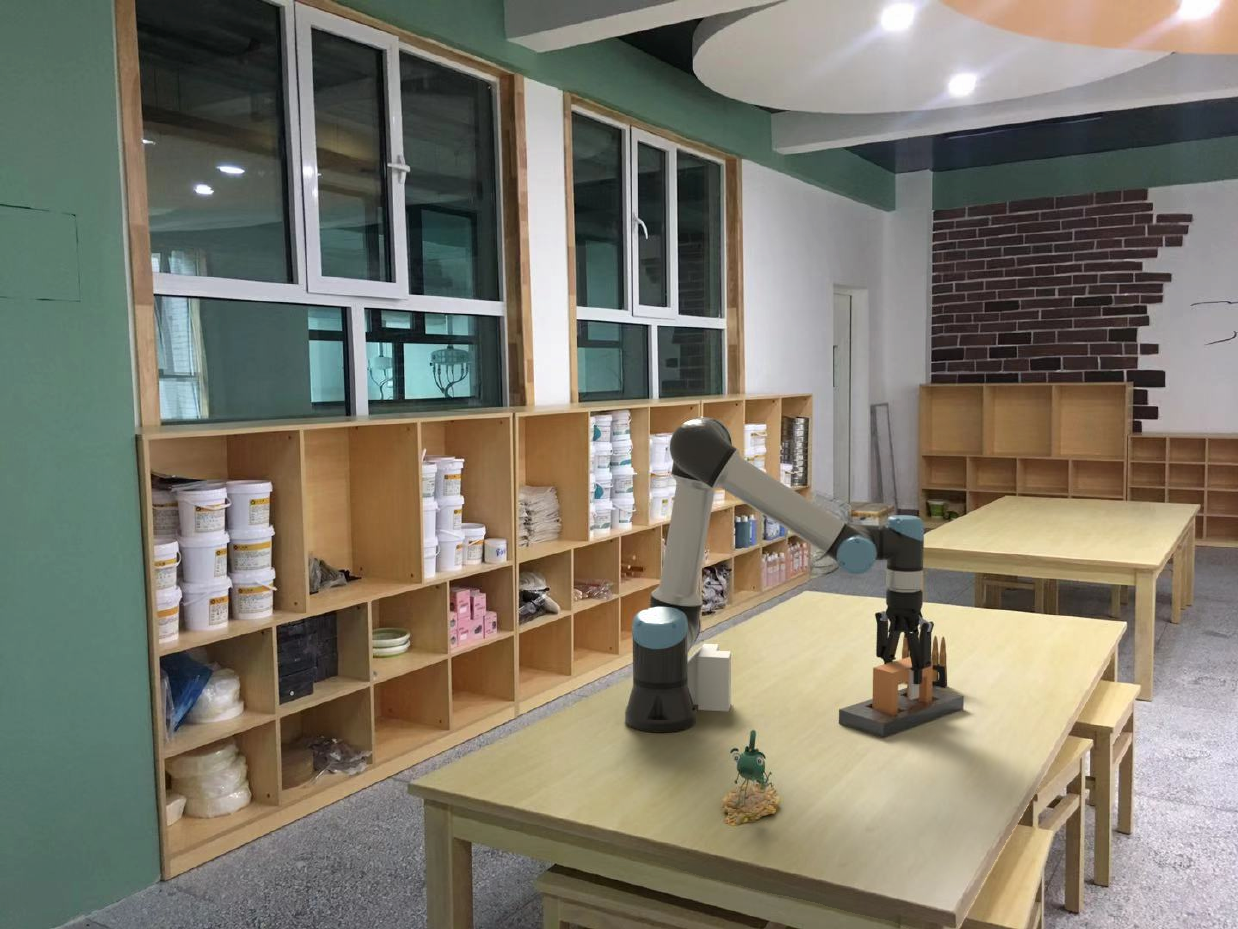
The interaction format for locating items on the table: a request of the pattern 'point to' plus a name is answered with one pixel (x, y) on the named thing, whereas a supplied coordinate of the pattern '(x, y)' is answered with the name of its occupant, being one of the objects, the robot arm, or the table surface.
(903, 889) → the table surface
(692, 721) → the robot arm
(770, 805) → the green creature figurine
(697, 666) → the corner bracket
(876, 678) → the clip
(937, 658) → the ammunition clip
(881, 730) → the gray slotted base board
